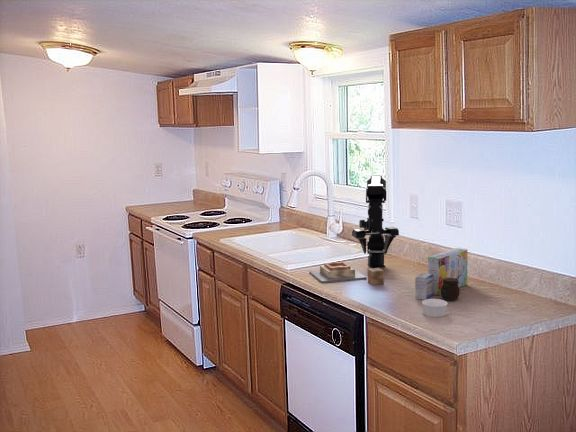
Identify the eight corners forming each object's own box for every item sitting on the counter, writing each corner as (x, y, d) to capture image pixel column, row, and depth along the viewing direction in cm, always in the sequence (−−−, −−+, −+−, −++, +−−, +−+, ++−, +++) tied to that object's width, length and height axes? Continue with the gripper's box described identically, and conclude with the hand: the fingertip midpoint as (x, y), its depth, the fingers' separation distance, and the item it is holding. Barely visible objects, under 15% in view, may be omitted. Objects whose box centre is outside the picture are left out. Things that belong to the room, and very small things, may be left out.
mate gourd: (437, 297, 250) (438, 271, 249) (456, 296, 251) (457, 271, 249) (443, 302, 243) (444, 276, 242) (463, 301, 244) (464, 275, 242)
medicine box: (425, 300, 246) (426, 278, 245) (414, 298, 249) (415, 276, 247) (433, 295, 253) (433, 273, 251) (422, 293, 255) (422, 272, 254)
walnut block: (378, 281, 274) (379, 267, 273) (383, 284, 269) (383, 270, 268) (367, 282, 273) (367, 268, 272) (372, 285, 268) (372, 271, 267)
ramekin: (450, 317, 226) (450, 305, 225) (425, 318, 225) (425, 306, 225) (442, 309, 235) (442, 298, 234) (418, 310, 234) (418, 299, 233)
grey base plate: (351, 269, 296) (351, 267, 295) (366, 279, 278) (366, 277, 278) (309, 272, 291) (309, 271, 290) (321, 283, 273) (321, 281, 273)
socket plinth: (345, 269, 292) (345, 260, 291) (355, 276, 280) (355, 266, 279) (320, 272, 289) (319, 262, 288) (328, 278, 277) (328, 269, 276)
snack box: (455, 282, 270) (456, 247, 268) (467, 285, 266) (468, 249, 264) (426, 293, 256) (427, 256, 253) (439, 296, 252) (440, 258, 249)
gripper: (388, 211, 277) (388, 247, 279) (347, 214, 272) (347, 250, 274) (399, 215, 266) (399, 252, 268) (356, 218, 261) (356, 256, 264)
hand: (375, 252), depth 269 cm, fingers open, 9 cm apart
